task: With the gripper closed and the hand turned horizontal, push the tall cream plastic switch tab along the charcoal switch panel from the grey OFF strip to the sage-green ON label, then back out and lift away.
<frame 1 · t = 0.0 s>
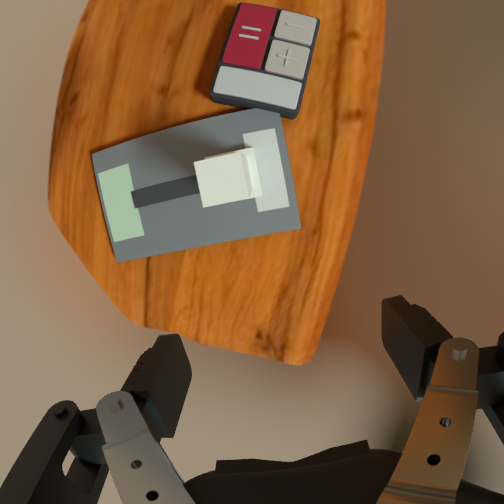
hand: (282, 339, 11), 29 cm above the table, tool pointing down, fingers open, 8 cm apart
switch panel: (190, 185, 38), on the table
switch slider: (228, 177, 30), point 8 cm above the table, slide at 0.0 cm
calculator: (266, 61, 34), on the table, touching switch panel
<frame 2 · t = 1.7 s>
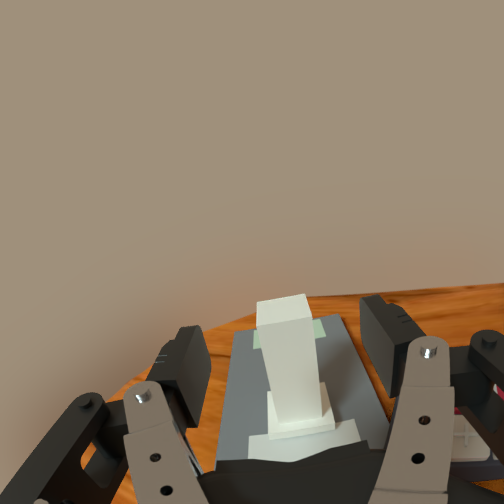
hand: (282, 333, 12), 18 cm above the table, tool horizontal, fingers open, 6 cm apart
switch panel: (296, 387, 32), on the table
switch slider: (292, 368, 24), point 8 cm above the table, slide at 0.0 cm
calculator: (459, 439, 18), on the table
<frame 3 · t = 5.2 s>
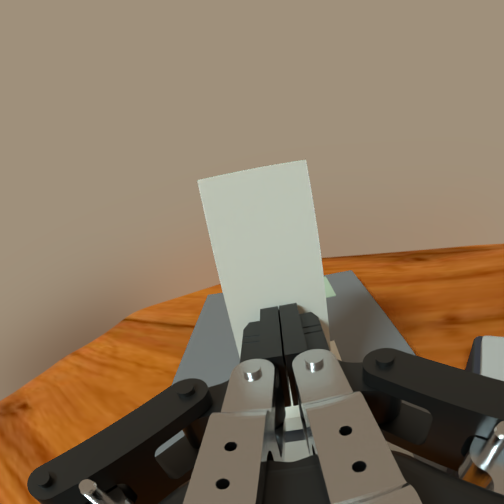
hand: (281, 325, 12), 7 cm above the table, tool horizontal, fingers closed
switch panel: (291, 368, 20), on the table
switch slider: (277, 298, 14), point 8 cm above the table, slide at 1.6 cm, touching gripper
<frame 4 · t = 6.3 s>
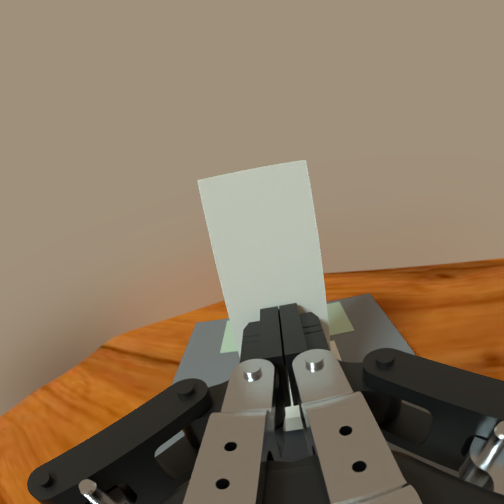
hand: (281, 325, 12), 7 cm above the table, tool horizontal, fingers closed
switch panel: (299, 435, 14), on the table
switch slider: (277, 298, 14), point 8 cm above the table, slide at 8.0 cm, touching gripper
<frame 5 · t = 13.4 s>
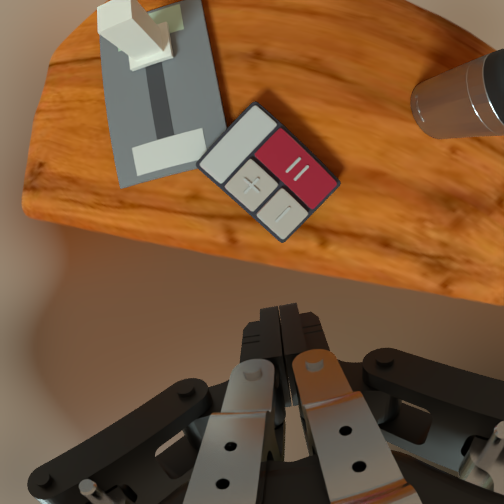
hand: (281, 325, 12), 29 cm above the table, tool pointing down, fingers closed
switch panel: (159, 86, 35), on the table
switch slider: (134, 31, 26), point 8 cm above the table, slide at 12.0 cm
calculator: (268, 171, 39), on the table, touching switch panel
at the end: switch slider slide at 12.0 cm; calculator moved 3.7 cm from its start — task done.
